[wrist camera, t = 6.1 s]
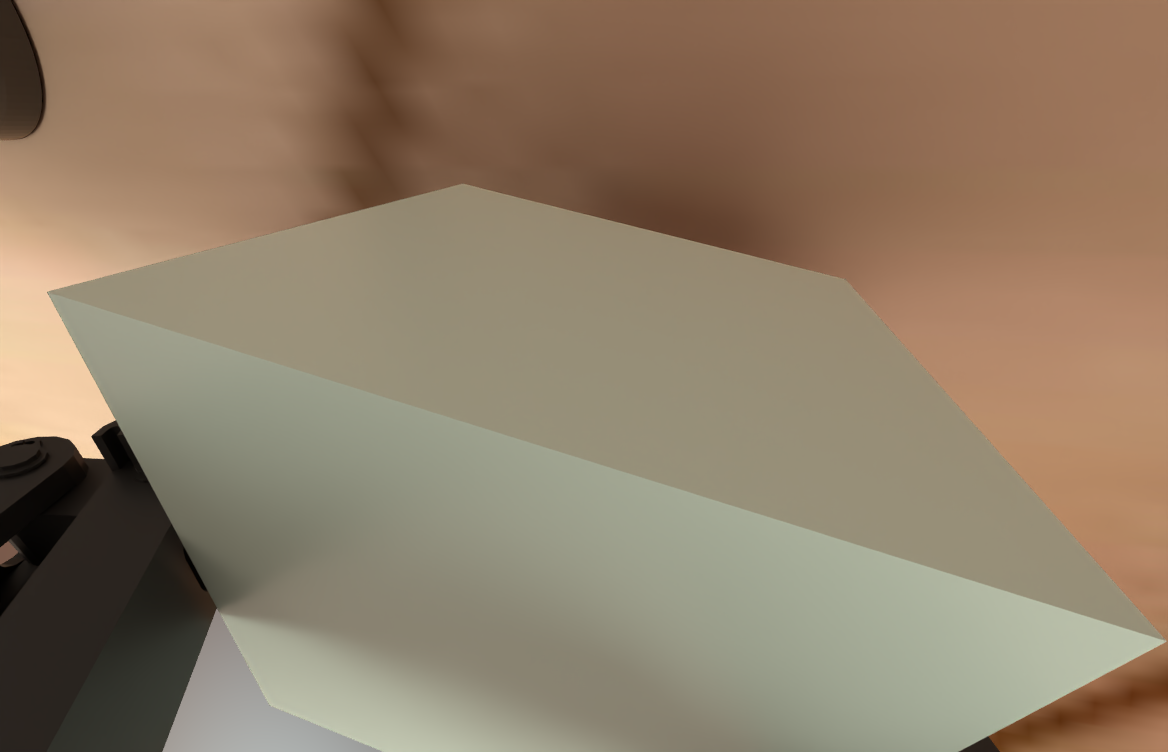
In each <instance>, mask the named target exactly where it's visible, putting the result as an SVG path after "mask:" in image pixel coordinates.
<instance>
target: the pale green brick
mask: <svg viewBox="0 0 1168 752" xmlns="http://www.w3.org/2000/svg"><path fill="white" fill-rule="evenodd" d="M47 293H48V295H49V297H50V298H51V300H52V302H53V304H54V306H55V308H56V310H57V311H58V313H59V315H60V317H61V319H62V321H63V323H64V324H65V326H66V328H67V330H68V332H69V334H70V336H71V337H72V339H73V341H74V343H75V345H76V347H77V349H78V350H79V352H80V354H81V356H82V358H83V360H84V362H85V363H86V365H87V367H88V369H89V371H90V373H91V375H92V376H93V378H94V380H95V382H96V384H97V386H98V388H99V389H100V391H101V393H102V395H103V397H104V399H105V401H106V403H107V404H108V406H109V408H110V410H111V412H112V414H113V416H114V417H115V419H116V421H117V423H118V425H119V427H120V429H121V430H122V432H123V434H124V436H125V438H126V440H127V442H128V443H129V445H130V447H131V449H132V451H133V453H134V455H135V456H136V458H137V460H138V462H139V464H140V466H141V468H142V469H143V471H144V473H145V475H146V477H147V479H148V481H149V482H150V484H151V486H152V488H153V490H154V492H155V494H156V495H157V497H158V499H159V501H160V503H161V505H162V507H163V508H164V510H165V512H166V514H167V516H168V518H169V520H170V521H171V523H172V525H173V527H174V529H175V531H176V533H177V535H178V536H179V538H180V540H181V542H182V544H183V546H184V548H185V549H186V551H187V553H188V555H189V557H190V559H191V561H192V562H193V564H194V566H195V568H196V570H197V572H198V574H199V575H200V577H201V579H202V581H203V583H204V585H205V587H206V588H207V590H208V592H209V594H210V596H211V598H212V600H213V601H214V603H215V605H216V607H217V609H218V611H219V613H220V614H221V616H222V618H223V620H224V622H225V624H226V625H227V627H228V629H229V631H230V633H231V635H232V637H233V639H234V640H235V642H236V644H237V646H238V648H239V650H240V652H241V653H242V655H243V657H244V659H245V661H246V663H247V664H248V666H249V668H250V670H251V672H252V674H253V676H254V678H255V680H256V681H257V683H258V685H259V687H260V689H261V691H262V693H263V694H264V696H265V698H266V700H267V702H268V704H269V705H270V706H272V707H275V708H277V709H280V710H282V711H285V712H287V713H290V714H292V715H294V716H297V717H300V718H302V719H304V720H307V721H309V722H312V723H314V724H317V725H319V726H322V727H324V728H326V729H329V730H331V731H334V732H336V733H339V734H341V735H344V736H346V737H348V738H351V739H353V740H356V741H358V742H361V743H363V744H366V745H368V746H370V747H373V748H375V749H378V750H381V751H383V752H959V751H961V750H963V749H965V748H966V747H968V746H970V745H972V744H974V743H976V742H978V741H980V740H982V739H983V738H985V737H987V736H989V735H991V734H993V733H995V732H997V731H999V730H1000V729H1002V728H1004V727H1006V726H1008V725H1010V724H1012V723H1014V722H1016V721H1017V720H1019V719H1021V718H1023V717H1025V716H1027V715H1029V714H1031V713H1033V712H1034V711H1036V710H1038V709H1040V708H1042V707H1044V706H1046V705H1048V704H1050V703H1051V702H1053V701H1055V700H1057V699H1059V698H1061V697H1063V696H1065V695H1067V694H1068V693H1070V692H1072V691H1074V690H1076V689H1078V688H1080V687H1082V686H1084V685H1085V684H1087V683H1089V682H1091V681H1093V680H1095V679H1097V678H1099V677H1101V676H1102V675H1104V674H1106V673H1108V672H1110V671H1112V670H1114V669H1116V668H1118V667H1119V666H1121V665H1123V664H1125V663H1127V662H1129V661H1131V660H1133V659H1135V658H1136V657H1138V656H1140V655H1142V654H1144V653H1146V652H1148V651H1150V650H1152V649H1153V648H1155V647H1157V646H1159V645H1161V644H1163V643H1165V642H1167V641H1166V640H1165V639H1164V638H1163V637H1162V636H1161V634H1160V633H1159V632H1158V631H1157V630H1156V629H1155V628H1154V626H1153V625H1152V624H1151V623H1150V622H1149V621H1148V620H1147V619H1146V617H1145V616H1144V615H1143V614H1142V613H1141V612H1140V611H1139V610H1138V608H1137V607H1136V606H1135V605H1134V604H1133V603H1132V602H1131V601H1130V599H1129V598H1128V597H1127V596H1126V595H1125V594H1124V593H1123V592H1122V590H1121V589H1120V588H1119V587H1118V586H1117V585H1116V584H1115V583H1114V581H1113V580H1112V579H1111V578H1110V577H1109V576H1108V575H1107V574H1106V572H1105V571H1104V570H1103V569H1102V568H1101V567H1100V566H1099V564H1098V563H1097V562H1096V561H1095V560H1094V559H1093V558H1092V557H1091V555H1090V554H1089V553H1088V552H1087V551H1086V550H1085V549H1084V548H1083V546H1082V545H1081V544H1080V543H1079V542H1078V541H1077V540H1076V539H1075V537H1074V536H1073V535H1072V534H1071V533H1070V532H1069V531H1068V530H1067V528H1066V527H1065V526H1064V525H1063V524H1062V523H1061V522H1060V521H1059V519H1058V518H1057V517H1056V516H1055V515H1054V514H1053V513H1052V512H1051V510H1050V509H1049V508H1048V507H1047V506H1046V505H1045V504H1044V502H1043V501H1042V500H1041V499H1040V498H1039V497H1038V496H1037V495H1036V493H1035V492H1034V491H1033V490H1032V489H1031V488H1030V487H1029V486H1028V484H1027V483H1026V482H1025V481H1024V480H1023V479H1022V478H1021V477H1020V475H1019V474H1018V473H1017V472H1016V471H1015V470H1014V469H1013V468H1012V466H1011V465H1010V464H1009V463H1008V462H1007V461H1006V460H1005V459H1004V457H1003V456H1002V455H1001V454H1000V453H999V452H998V451H997V450H996V448H995V447H994V446H993V445H992V444H991V443H990V442H989V440H988V439H987V438H986V437H985V436H984V435H983V434H982V433H981V431H980V430H979V429H978V428H977V427H976V426H975V425H974V424H973V422H972V421H971V420H970V419H969V418H968V417H967V416H966V415H965V413H964V412H963V411H962V410H961V409H960V408H959V407H958V406H957V404H956V403H955V402H954V401H953V400H952V399H951V398H950V397H949V395H948V394H947V393H946V392H945V391H944V390H943V389H942V388H941V386H940V385H939V384H938V383H937V382H936V381H935V380H934V378H933V377H932V376H931V375H930V374H929V373H928V372H927V371H926V369H925V368H924V367H923V366H922V365H921V364H920V363H919V362H918V360H917V359H916V358H915V357H914V356H913V355H912V354H911V353H910V351H909V350H908V349H907V348H906V347H905V346H904V345H903V344H902V342H901V341H900V340H899V339H898V338H897V337H896V336H895V335H894V333H893V332H892V331H891V330H890V329H889V328H888V327H887V326H886V324H885V323H884V322H883V321H882V320H881V319H880V318H879V316H878V315H877V314H876V313H875V312H874V311H873V310H872V309H871V307H870V306H869V305H868V304H867V303H866V302H865V301H864V300H863V298H862V297H861V296H860V295H859V294H858V293H857V292H856V291H855V289H854V288H853V287H852V286H851V285H850V284H849V283H848V282H847V280H846V279H843V278H839V277H835V276H831V275H827V274H823V273H819V272H815V271H811V270H807V269H803V268H799V267H795V266H791V265H787V264H783V263H779V262H775V261H771V260H767V259H763V258H759V257H755V256H751V255H747V254H743V253H739V252H735V251H731V250H727V249H723V248H719V247H715V246H711V245H707V244H703V243H699V242H695V241H691V240H687V239H683V238H679V237H675V236H670V235H666V234H662V233H658V232H654V231H650V230H646V229H642V228H638V227H634V226H630V225H626V224H622V223H618V222H614V221H610V220H606V219H602V218H598V217H594V216H590V215H586V214H582V213H578V212H574V211H570V210H566V209H562V208H558V207H554V206H550V205H546V204H542V203H538V202H534V201H530V200H526V199H522V198H518V197H514V196H510V195H506V194H502V193H498V192H494V191H490V190H486V189H482V188H478V187H474V186H470V185H466V184H460V185H456V186H452V187H448V188H444V189H440V190H436V191H433V192H429V193H425V194H421V195H417V196H413V197H410V198H406V199H402V200H398V201H394V202H390V203H387V204H383V205H379V206H375V207H371V208H367V209H363V210H360V211H356V212H352V213H348V214H344V215H340V216H337V217H333V218H329V219H325V220H321V221H317V222H314V223H310V224H306V225H302V226H298V227H294V228H291V229H287V230H283V231H279V232H275V233H271V234H267V235H264V236H260V237H256V238H252V239H248V240H244V241H241V242H237V243H233V244H229V245H225V246H221V247H218V248H214V249H210V250H206V251H202V252H198V253H194V254H191V255H187V256H183V257H179V258H175V259H171V260H168V261H164V262H160V263H156V264H152V265H148V266H145V267H141V268H137V269H133V270H129V271H125V272H121V273H118V274H114V275H110V276H106V277H102V278H98V279H95V280H91V281H87V282H83V283H79V284H75V285H72V286H68V287H64V288H60V289H56V290H52V291H49V292H47Z"/></svg>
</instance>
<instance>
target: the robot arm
mask: <svg viewBox="0 0 1168 752" xmlns="http://www.w3.org/2000/svg"><path fill="white" fill-rule="evenodd" d="M41 107H42V91H41V83H40V77H39V72H38V68H37V64H36V60H35V57H34V54H33V51H32V48H31V45H30V42H29V40H28V37H27V35H26V32H25V30H24V27H23V25H22V23H21V21H20V19H19V16H18V14H17V12H16V10H15V8H14V6H13V4H12V3H11V1H10V0H0V140H16V139H21V138H23V137H25V136H27V135H29V134H30V133H31V132H32V131H33V130H34V128H35V127H36V125H37V123H38V121H39V118H40V114H41ZM91 437H92V439H93V440H94V442H95V444H96V445H97V447H98V449H99V450H100V452H101V454H102V455H103V457H104V459H90V458H82V456H81V454H80V453H79V451H78V450H77V448H76V447H75V445H74V444H73V443H72V442H71V441H70V440H68V439H64V438H60V437H35V438H30V439H24V440H19V441H15V442H12V443H9V444H6V445H3V446H0V547H1V546H2V545H4V544H5V543H6V542H7V541H9V542H10V543H11V544H12V545H13V546H14V548H15V549H16V550H17V551H18V554H16V555H15V556H14V557H13V558H11V559H9V560H8V561H6V562H5V563H3V564H1V565H0V752H162V751H163V748H164V746H165V743H166V740H167V738H168V735H169V732H170V730H171V727H172V725H173V722H174V719H175V717H176V714H177V711H178V709H179V706H180V704H181V701H182V698H183V696H184V693H185V690H186V687H187V685H188V682H189V680H190V677H191V674H192V672H193V669H194V667H195V664H196V661H197V659H198V656H199V653H200V651H201V648H202V646H203V643H204V640H205V637H206V635H207V632H208V630H209V627H210V624H211V622H212V619H213V616H214V614H215V611H216V609H217V607H216V605H215V603H214V601H213V600H212V598H211V596H210V594H209V592H208V590H207V588H206V587H205V585H204V583H203V581H202V579H201V577H200V575H199V574H198V572H197V570H196V568H195V566H194V564H193V562H192V561H191V559H190V557H189V555H188V553H187V551H186V549H185V548H184V546H183V544H182V542H181V540H180V538H179V536H178V535H177V533H176V531H175V529H174V527H173V525H172V523H171V521H170V520H169V518H168V516H167V514H166V512H165V510H164V508H163V507H162V505H161V503H160V501H159V499H158V497H157V495H156V494H155V492H154V490H153V488H152V486H151V484H150V482H149V481H148V479H147V477H146V475H145V473H144V471H143V469H142V468H141V466H140V464H139V462H138V460H137V458H136V456H135V455H134V453H133V451H132V449H131V447H130V445H129V443H128V442H127V440H126V438H125V436H124V434H123V432H122V430H121V429H120V427H119V425H118V423H117V421H114V422H111V423H109V424H107V425H105V426H103V427H102V428H101V429H100V430H98V431H97V432H96V433H95V434H93V435H92V436H91ZM959 752H1000V751H999V750H998V749H997V748H996V746H995V745H994V744H993V742H992V741H991V740H990V738H989V737H988V736H987V737H985V738H983V739H982V740H980V741H978V742H976V743H974V744H972V745H970V746H968V747H966V748H965V749H963V750H961V751H959Z"/></svg>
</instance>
